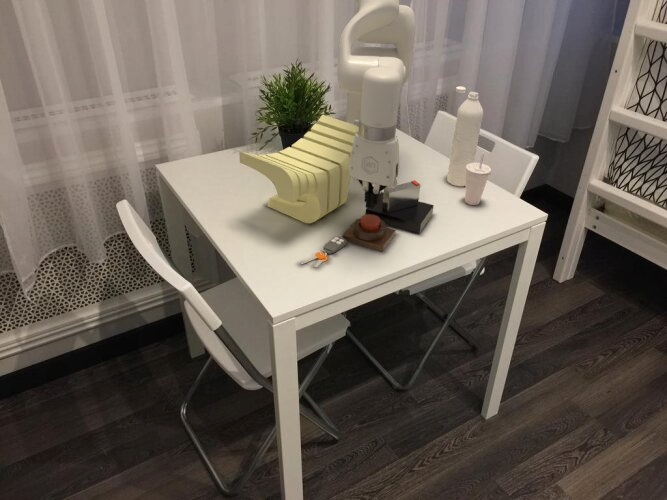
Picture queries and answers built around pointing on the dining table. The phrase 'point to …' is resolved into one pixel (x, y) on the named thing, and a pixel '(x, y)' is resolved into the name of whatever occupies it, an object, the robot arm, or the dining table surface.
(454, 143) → the water bottle
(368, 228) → the button
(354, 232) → the button block
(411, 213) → the plate
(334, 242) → the key chain
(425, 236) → the dining table surface
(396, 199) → the silver metal block
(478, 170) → the smoothie
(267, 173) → the slatted curved stool
